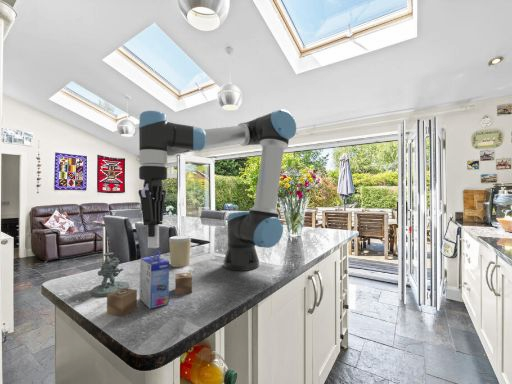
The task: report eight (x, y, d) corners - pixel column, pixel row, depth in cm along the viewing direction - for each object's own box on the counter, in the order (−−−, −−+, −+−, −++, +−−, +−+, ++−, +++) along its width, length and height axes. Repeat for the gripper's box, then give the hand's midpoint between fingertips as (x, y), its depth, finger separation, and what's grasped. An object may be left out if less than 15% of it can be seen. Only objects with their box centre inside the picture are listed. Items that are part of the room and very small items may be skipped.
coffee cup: (190, 260, 116) (189, 234, 116) (192, 266, 108) (192, 238, 108) (168, 262, 113) (168, 236, 113) (169, 268, 104) (169, 239, 104)
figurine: (87, 299, 75) (87, 259, 75) (94, 287, 85) (94, 251, 85) (127, 293, 79) (127, 255, 79) (129, 282, 89) (129, 248, 89)
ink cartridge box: (170, 304, 71) (170, 253, 71) (150, 310, 68) (150, 256, 68) (157, 293, 79) (157, 247, 79) (138, 298, 75) (138, 250, 75)
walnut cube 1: (136, 308, 69) (136, 288, 69) (122, 316, 64) (122, 295, 64) (122, 305, 71) (122, 286, 71) (107, 314, 66) (106, 293, 66)
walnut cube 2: (191, 287, 84) (191, 271, 84) (192, 292, 79) (191, 276, 79) (175, 289, 83) (175, 273, 83) (175, 295, 78) (175, 278, 78)
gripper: (150, 168, 80) (150, 242, 80) (128, 163, 67) (128, 252, 67) (174, 168, 80) (174, 243, 80) (156, 163, 67) (156, 252, 67)
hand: (153, 247), depth 73 cm, fingers closed
